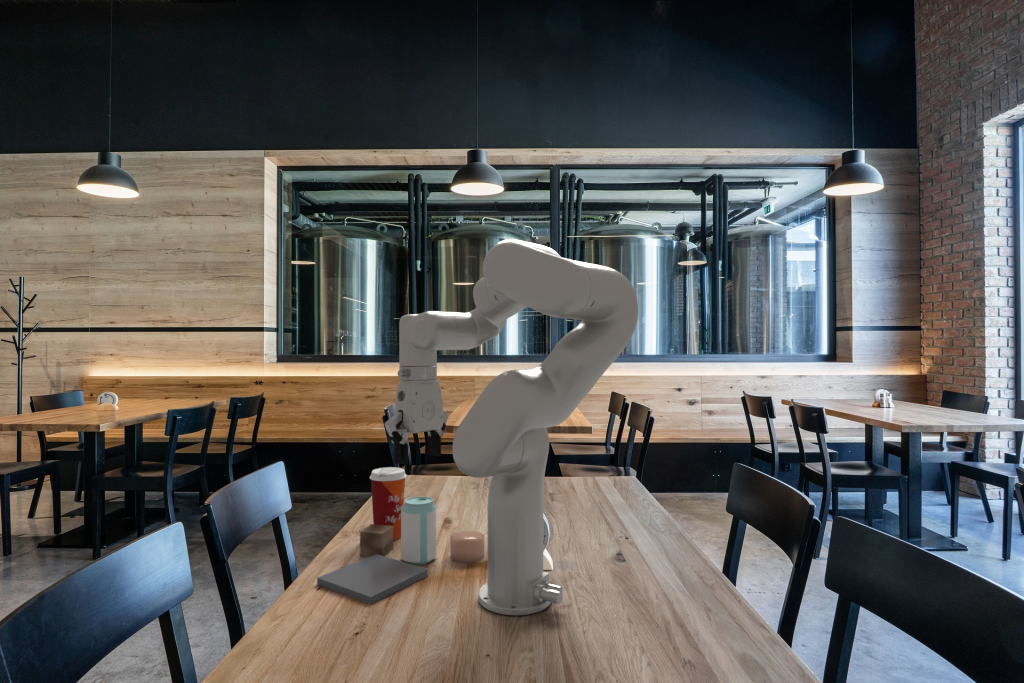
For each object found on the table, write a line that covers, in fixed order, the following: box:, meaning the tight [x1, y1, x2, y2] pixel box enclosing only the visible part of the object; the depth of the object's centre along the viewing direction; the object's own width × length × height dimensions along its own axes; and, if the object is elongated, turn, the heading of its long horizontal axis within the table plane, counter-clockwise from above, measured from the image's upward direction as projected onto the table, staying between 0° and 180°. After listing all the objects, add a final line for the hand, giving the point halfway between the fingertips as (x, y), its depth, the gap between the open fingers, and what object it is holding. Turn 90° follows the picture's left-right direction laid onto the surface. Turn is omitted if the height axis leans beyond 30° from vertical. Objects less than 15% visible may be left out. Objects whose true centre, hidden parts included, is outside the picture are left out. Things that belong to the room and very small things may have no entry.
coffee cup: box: [369, 466, 407, 542], centre depth 125 cm, size 8×8×15 cm
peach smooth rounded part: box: [449, 530, 486, 563], centre depth 114 cm, size 7×7×4 cm
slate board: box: [316, 554, 429, 605], centre depth 102 cm, size 14×14×1 cm
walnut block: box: [359, 523, 394, 557], centre depth 116 cm, size 5×5×5 cm
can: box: [400, 496, 437, 566], centre depth 112 cm, size 7×7×12 cm
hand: (418, 459), depth 112 cm, fingers open, 9 cm apart
